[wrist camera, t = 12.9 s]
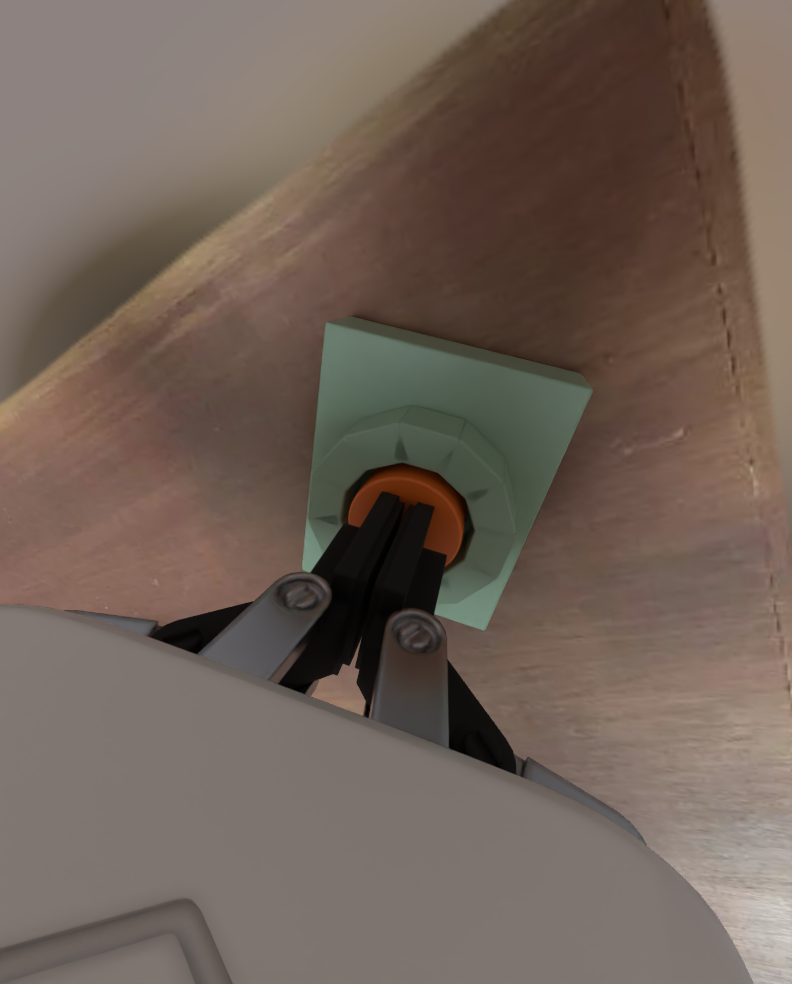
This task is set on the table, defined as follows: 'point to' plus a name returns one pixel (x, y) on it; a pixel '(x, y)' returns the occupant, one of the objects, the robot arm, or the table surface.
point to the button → (412, 489)
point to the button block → (441, 443)
